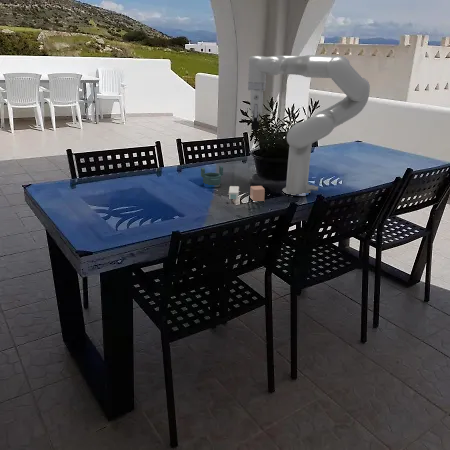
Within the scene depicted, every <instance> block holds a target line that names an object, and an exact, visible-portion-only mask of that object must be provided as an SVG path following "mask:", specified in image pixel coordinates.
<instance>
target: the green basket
mask: <svg viewBox="0 0 450 450" xmlns="http://www.w3.org/2000/svg"><path fill="white" fill-rule="evenodd" d="M218 172H219V173H218ZM218 172H206V169H205V167H200V177H201V178H202V179H203V180H202V181H203V182H202V184H203V183H205V184H208V185H219V184H221V185H222V183H221V182H222V179H221V178H222V176H223V175H224V166H223V165H220V166H219V169H218Z"/></svg>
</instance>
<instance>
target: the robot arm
mask: <svg viewBox="0 0 450 450" xmlns="http://www.w3.org/2000/svg"><path fill="white" fill-rule="evenodd" d="M267 75H269V76H278V75H295V76H302V77H305V78H314V79H315V78H317V79H320V78H321V79H331V80H332V82H333V83H334V84H335V85H336V86H337V87H338V88H339V89H340V90H341V91H342V92H343V93H344V95H345V97H344V98H342V100H340V101H338V102H337V103H335V104H333V105H331V106H329V107H327V108H325V109H323V110H320V111H318V112H317V113H315V114H314V115H313V116H311V117H309V118H307V119H306V120H304V121H300V122H296V123H295V124H293V126H292V127H291V128H290V129H289V130H288V131H287V134H286V142H287V144H288V145H289V148H288V156H287V157H288V159H287V171H286V184H285V185H286V186H285V187H283V188H282V190H281V191H283V192H284V193H286V194H291V195H296V194H302V193H310V194H311V191H315V192H317V191H319V186H317V185H314V184H310V183H309V173H310V163H311V154H312V146H313V144H314V143H315V142H318V141H319V140H322V139H323V138H326V137H327V136H329V135H330V134H331V133H332V132H333V131H334V129H335V128H337V127H339V126H340V125H343V124H345V123H346V122H348V121H349V120H352V119H353V118H354V117H356V116H358V115H359V114H360V113H361V112H362V111H363V109H364V108H365V107H366V105H367V103H368V101H369V98H370V97H369V96H370V93H371V92H370V90H371V85H370V82H369V81H368V79H366V78H364V77H362V75H361V74H360V73H359V72H357V70H356V69H355V68H354V67H353V66H352V64H351V63H350V60H349V59H348V58H347V57H346V56H343V55H321V54H320V55H318V54H317V55H316V54H315V55H313V54H311V55H310V54H309V55H308V54H307V55H272V56H271V55H270V56H264V55H252V56H251V55H250V57H249V58H248V76H247V77H248V80H247V81H248V83H247V90H248V91H250V97H249V98H250V104H249V105H250V114H251V115H252V117H251V118H252V120H251V126H250V129H251V131H259V129H260V128H259V127H260V125H259V124H260V119H259V115H263V105H264V102H263V101H264V91H266V85H267ZM283 192H282V193H283ZM284 193H283V194H284Z"/></svg>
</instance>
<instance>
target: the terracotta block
mask: <svg viewBox="0 0 450 450" xmlns="http://www.w3.org/2000/svg"><path fill="white" fill-rule="evenodd" d="M249 191H250V192H249V196H250V198H251V199H252V200H253V201H264V202H265V196H266V195H265V194H266V193H265V192H266V191H265V188H264V187H263V185H251V186H250V189H249Z"/></svg>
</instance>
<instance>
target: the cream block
mask: <svg viewBox="0 0 450 450" xmlns="http://www.w3.org/2000/svg"><path fill="white" fill-rule="evenodd" d="M228 195H229V199H238V195H239V196H240V186H238V185H237V186H236V185H230V186H229V189H228Z"/></svg>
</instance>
